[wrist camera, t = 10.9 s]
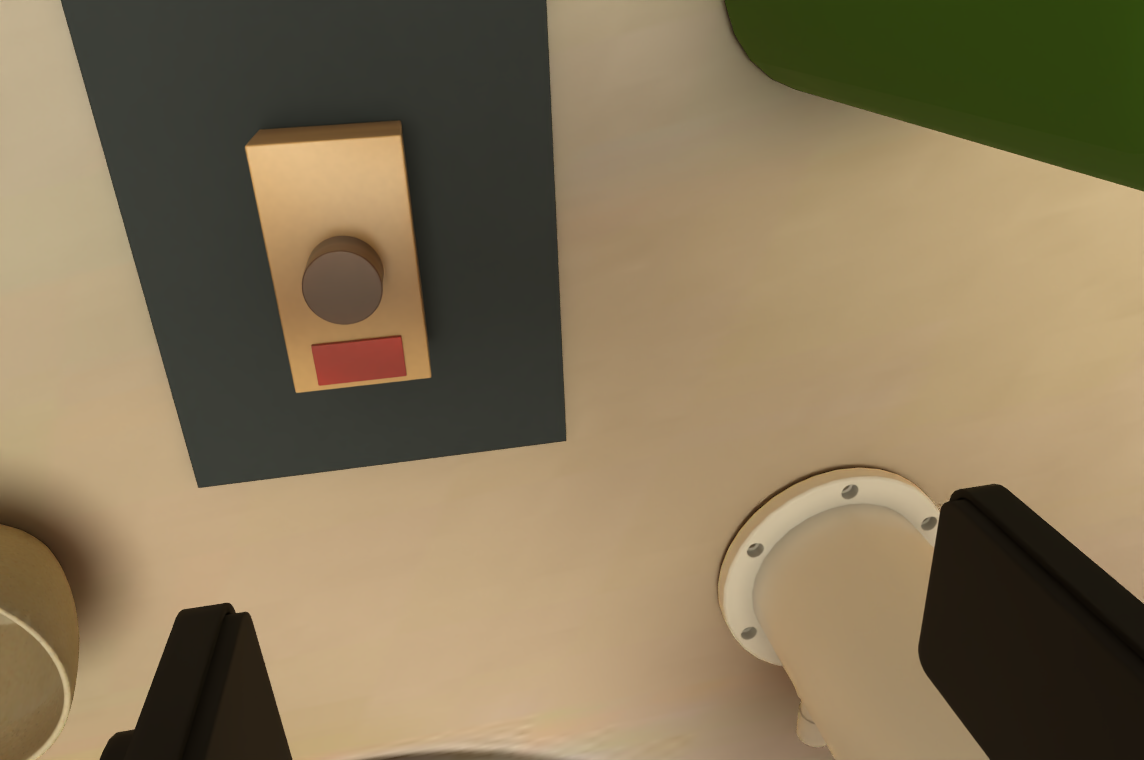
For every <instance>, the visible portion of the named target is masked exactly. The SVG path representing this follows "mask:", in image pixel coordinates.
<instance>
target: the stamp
mask: <svg viewBox="0 0 1144 760" xmlns="http://www.w3.org/2000/svg"><path fill="white" fill-rule="evenodd" d="M245 151H246V156H247V161H248V166H249V170H250V175H251V180H252V185H253V190H254V194H255V199H256V204H257V209H258V214H259V219H260V223H261V228H262V233H263V238H264V243H265V247H266V252H267V257H268V262H269V267H270V272H271V276H272V281H273V286H274V291H275V296H276V300H277V305H278V310H279V315H280V320H281V325H282V329H283V334H284V339H285V344H286V349H287V354H288V358H289V363H290V368H291V373H292V378H293V382H294V387H295V392H296V393H301V392H310V391H318V390H327V389H336V388H345V387H354V386H363V385H371V384H380V383H389V382H398V381H407V380H415V379H424V378H431V365H430V354H429V343H428V335H427V327H426V319H425V311H424V303H423V294H422V286H421V278H420V270H419V262H418V254H417V246H416V238H415V230H414V222H413V214H412V205H411V197H410V189H409V181H408V173H407V165H406V157H405V149H404V141H403V133H402V125H401V121H399V120H398V121H383V122H368V123H353V124H338V125H323V126H308V127H293V128H278V129H263V130H258V132H257V133H256V134H255V135H254V136H253V137H252V139H251V140H250V141H249V142H248V143H247V144H246V145H245Z"/></svg>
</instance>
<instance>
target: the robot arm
mask: <svg viewBox="0 0 1144 760" xmlns="http://www.w3.org/2000/svg"><path fill="white" fill-rule="evenodd" d="M718 597H719V605H720V608H721V611H722V614H723V617H724V620H725V622H726V624H727V625H728V627H729V629H730V631H731V633H732V635H733V637H734V638H735V639H736V640H737V641H738V643H739V644H740V645H741V646H742V647H743V648H744V649H745V650H746V651H748V652H749V653H751V654H752V655H754V656H755V657H756V658H758V659H761V660H763V661H766V662H768V663H771V664H773V665H778V666H783V667H784V669H785V671H786V672H787V674H788V676H789V678H790V680H791V681H792V683H793V685H794V687H795V689H796V692H797V696H798V697H799V698H800V699H801V703H800V704H799V711H798V720H797V729H796V733H797V735H798V737H799V739H800V740H801V741H802V742H803V743H805V744H806V745H808V746H811V747H815V748H817V747H824V746H826V745H827V746H828V748H829V750H830V751H831V753H832V755H833V757H834V759H835V760H1144V604H1143V603H1142V602H1141V601H1140V600H1138V599H1137V598H1136V597H1135V596H1134V595H1132V594H1131V593H1130V592H1129V591H1128V590H1127V589H1125V588H1124V587H1123V586H1122V585H1121V584H1119V583H1118V582H1117V581H1116V580H1115V579H1113V578H1112V577H1111V576H1110V575H1109V574H1107V573H1106V572H1105V571H1104V570H1103V569H1102V568H1100V567H1099V566H1098V565H1097V564H1096V563H1094V562H1093V561H1092V560H1091V559H1090V558H1088V557H1087V556H1086V555H1085V554H1084V553H1083V552H1081V551H1080V550H1079V549H1078V548H1077V547H1075V546H1074V545H1073V544H1072V543H1071V542H1069V541H1068V540H1067V539H1066V538H1065V537H1064V536H1062V535H1061V534H1060V533H1059V532H1058V531H1056V530H1055V529H1054V528H1053V527H1052V526H1050V525H1049V524H1048V523H1047V522H1046V521H1044V520H1043V519H1042V518H1041V517H1040V516H1039V515H1037V514H1036V513H1035V512H1034V511H1033V510H1031V509H1030V508H1029V507H1028V506H1027V505H1025V504H1024V503H1023V502H1022V501H1021V500H1020V499H1018V498H1017V497H1016V496H1015V495H1014V494H1012V493H1011V492H1010V491H1009V490H1008V489H1006V488H1005V487H1003V486H1001V485H998V484H991V485H984V486H978V487H972V488H965V489H959V490H957V491H955V492H954V493H953V494H952V495H951V498H950V501H949V502H946V503H944V504H943V506H942V507H941V511H939V509H938V508H937V507H936V506H935V504H934V503H933V502H932V501H931V499H930V498H929V497H928V496H927V495H926V494H925V493H924V492H923V491H922V490H921V489H919V488H918V487H917V486H916V485H915V484H914V483H912V482H911V481H909V480H907V479H905V478H904V477H902V476H900V475H898V474H895V473H891V472H888V471H884V470H881V469H871V468H849V469H839V470H834V471H830V472H827V473H823V474H819V475H815V476H813V477H811V478H808V479H806V480H804V481H801V482H799V483H797V484H795V485H793V486H791V487H789V488H788V489H786V490H785V491H783V492H781V493H780V494H778V495H776V496H775V497H773V498H772V499H771V500H770V501H768V502H767V503H766V504H765V505H764V506H762V507H761V508H760V509H759V510H758V511H757V512H755V513H754V514H753V516H752V517H751V518H750V519H749V520H748V521H747V522H746V524H745V525H744V526H743V527H742V528H741V529H740V531H739V532H738V534H737V535H736V537H735V539H734V540H733V542H732V544H731V545H730V547H729V548H728V551H727V553H726V556H725V558H724V561H723V564H722V566H721V570H720V576H719V582H718ZM100 760H292V757H291V753H290V750H289V746H288V743H287V739H286V736H285V732H284V729H283V725H282V722H281V718H280V715H279V712H278V708H277V705H276V701H275V698H274V694H273V691H272V687H271V684H270V680H269V677H268V673H267V670H266V667H265V663H264V660H263V656H262V653H261V649H260V646H259V642H258V639H257V635H256V632H255V628H254V625H253V621H252V619H251V616H250V614H249V613H248V612H242V613H236V612H235V610H234V608H233V606H232V605H231V604H230V603H223V604H216V605H210V606H203V607H197V608H190V609H184V610H182V611H180V612H179V613H178V615H177V617H176V619H175V622H174V625H173V628H172V630H171V633H170V636H169V638H168V641H167V644H166V646H165V649H164V652H163V655H162V657H161V660H160V663H159V665H158V668H157V671H156V673H155V676H154V679H153V681H152V684H151V687H150V690H149V692H148V695H147V698H146V700H145V703H144V706H143V708H142V711H141V714H140V717H139V719H138V722H137V725H136V727H135V730H129V731H123V732H118V733H116V734H115V735H114V736H112V737H111V738H110V739H109V741H108V743H107V745H106V747H105V749H104V750H103V753H102V755H101V758H100Z"/></svg>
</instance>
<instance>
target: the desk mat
mask: <svg viewBox="0 0 1144 760" xmlns="http://www.w3.org/2000/svg"><path fill="white" fill-rule="evenodd" d="M61 2H62V6H63V10H64V13H65V17H66V20H67V24H68V27H69V31H70V34H71V38H72V41H73V45H74V49H75V52H76V56H77V59H78V63H79V66H80V70H81V73H82V77H83V80H84V84H85V88H86V91H87V95H88V98H89V102H90V105H91V109H92V112H93V116H94V119H95V123H96V127H97V130H98V134H99V137H100V141H101V144H102V148H103V151H104V155H105V158H106V162H107V166H108V169H109V173H110V176H111V180H112V183H113V187H114V190H115V194H116V197H117V201H118V205H119V208H120V212H121V215H122V219H123V222H124V226H125V229H126V233H127V236H128V240H129V244H130V247H131V251H132V254H133V258H134V261H135V265H136V268H137V272H138V275H139V279H140V283H141V286H142V290H143V293H144V297H145V300H146V304H147V307H148V311H149V314H150V318H151V322H152V325H153V329H154V332H155V336H156V339H157V343H158V346H159V350H160V353H161V357H162V361H163V364H164V368H165V371H166V375H167V378H168V382H169V385H170V389H171V392H172V396H173V400H174V403H175V407H176V410H177V414H178V417H179V421H180V424H181V428H182V431H183V435H184V439H185V442H186V446H187V449H188V453H189V456H190V460H191V463H192V467H193V470H194V474H195V478H196V481H197V485H198V487H199V488H202V487H210V486H217V485H225V484H233V483H241V482H249V481H256V480H264V479H272V478H280V477H288V476H296V475H303V474H311V473H319V472H327V471H335V470H343V469H350V468H358V467H366V466H374V465H382V464H389V463H397V462H405V461H413V460H421V459H429V458H436V457H444V456H452V455H460V454H468V453H475V452H483V451H491V450H499V449H507V448H515V447H522V446H530V445H538V444H546V443H554V442H562V441H566V425H565V403H564V381H563V359H562V337H561V315H560V293H559V271H558V249H557V227H556V205H555V183H554V161H553V138H552V116H551V94H550V72H549V50H548V28H547V6H546V0H61ZM398 120H399V121H401V125H402V133H403V141H404V149H405V157H406V165H407V173H408V181H409V189H410V197H411V205H412V214H413V222H414V230H415V238H416V246H417V254H418V262H419V270H420V278H421V286H422V294H423V303H424V311H425V319H426V327H427V335H428V343H429V354H430V365H431V378H424V379H415V380H407V381H398V382H389V383H380V384H371V385H363V386H354V387H345V388H336V389H327V390H318V391H310V392H301V393H296V392H295V387H294V382H293V378H292V373H291V368H290V363H289V358H288V354H287V349H286V344H285V339H284V334H283V329H282V325H281V320H280V315H279V310H278V305H277V300H276V296H275V291H274V286H273V281H272V276H271V272H270V267H269V262H268V257H267V252H266V247H265V243H264V238H263V233H262V228H261V223H260V219H259V214H258V209H257V204H256V199H255V194H254V190H253V185H252V180H251V175H250V170H249V166H248V161H247V156H246V151H245V145H246V144H247V143H248V142H249V141H250V140H251V139H252V137H253V136H254V135H255V134H256V133H257V132H258V130H263V129H278V128H293V127H308V126H323V125H338V124H353V123H368V122H383V121H398Z"/></svg>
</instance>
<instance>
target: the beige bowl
mask: <svg viewBox="0 0 1144 760" xmlns="http://www.w3.org/2000/svg"><path fill="white" fill-rule="evenodd" d="M78 658H79V629H78V619H77V613H76V608H75V603H74V599H73V596H72V592H71V589H70V586H69V583H68V581H67V578H66V576H65V574H64V571H63V570H62V568H61V566H60V564H59V562H58V561H57V559H56V557H55V556H54V555H53V553H52V552H51V551H50V549H49V548H48V547H47V546H46V545H45V544H43V543H42V542H41V541H40V540H38V539H37V538H35V537H34V536H32V535H30V534H28V533H26V532H24V531H22V530H19V529H16V528H14V527H10V526H6V525H1V524H0V760H37V759H38V758H39V757H40V756H42V755H43V754H44V753H45V752H46V751H47V750H48V749H49V748H50V747H51V746H52V745H53V743H54V742H55V741H56V739H57V738H58V736H59V735H60V733H61V732H62V730H63V728H64V726H65V723H66V721H67V718H68V715H69V711H70V708H71V704H72V700H73V696H74V691H75V684H76V677H77V669H78Z"/></svg>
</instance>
